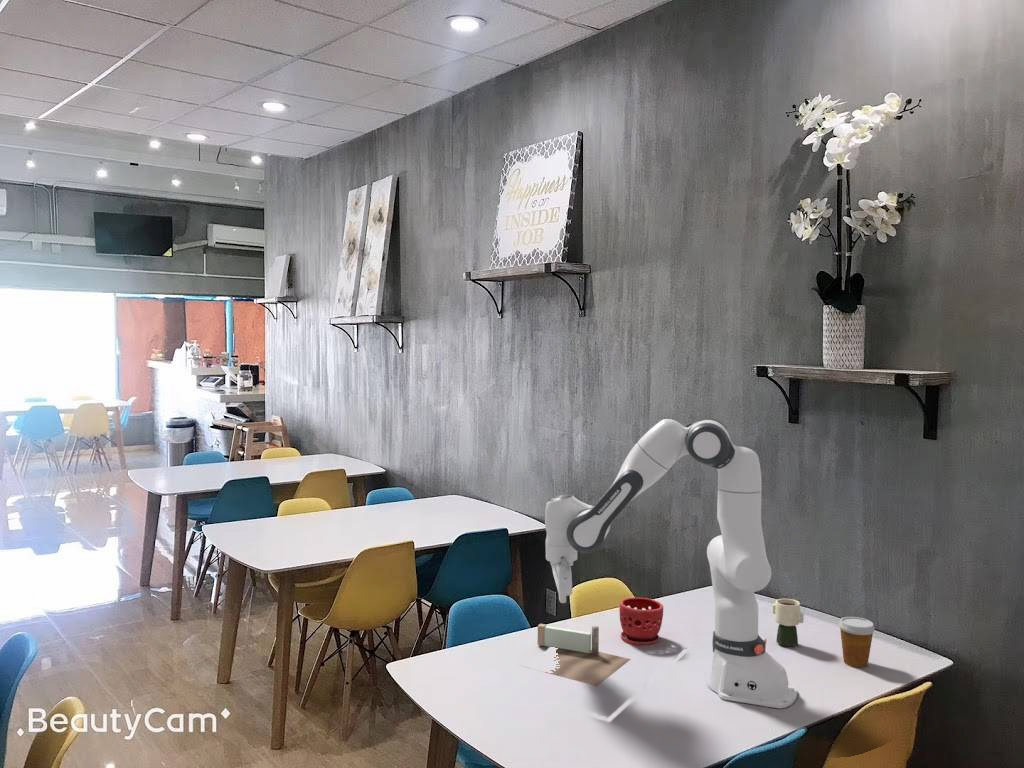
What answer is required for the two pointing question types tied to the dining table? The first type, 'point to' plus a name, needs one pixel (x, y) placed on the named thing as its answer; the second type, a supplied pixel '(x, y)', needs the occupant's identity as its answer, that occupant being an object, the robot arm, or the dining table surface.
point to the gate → (564, 638)
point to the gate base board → (588, 663)
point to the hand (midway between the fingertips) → (562, 601)
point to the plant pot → (640, 620)
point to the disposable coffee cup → (856, 640)
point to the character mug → (787, 620)
